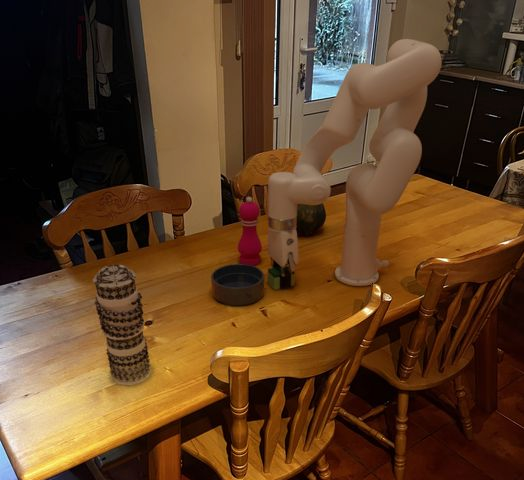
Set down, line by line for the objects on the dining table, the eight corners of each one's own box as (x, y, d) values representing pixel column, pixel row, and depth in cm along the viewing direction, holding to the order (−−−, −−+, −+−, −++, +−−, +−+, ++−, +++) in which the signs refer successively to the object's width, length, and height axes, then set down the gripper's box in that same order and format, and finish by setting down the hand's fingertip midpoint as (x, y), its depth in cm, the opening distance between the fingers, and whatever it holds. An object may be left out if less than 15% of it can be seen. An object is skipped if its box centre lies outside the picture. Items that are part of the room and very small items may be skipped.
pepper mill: (259, 267, 159) (258, 202, 147) (235, 265, 160) (233, 200, 148) (263, 257, 164) (264, 193, 153) (241, 255, 166) (239, 191, 154)
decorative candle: (138, 355, 122) (121, 255, 108) (161, 373, 116) (146, 270, 102) (102, 372, 117) (79, 269, 102) (124, 392, 111) (104, 286, 97)
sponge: (287, 278, 153) (287, 264, 150) (294, 285, 150) (294, 270, 147) (267, 283, 151) (267, 268, 148) (274, 289, 148) (274, 275, 145)
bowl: (251, 277, 153) (251, 260, 150) (272, 300, 143) (273, 281, 140) (204, 287, 149) (203, 269, 145) (223, 311, 138) (222, 292, 135)
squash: (272, 222, 173) (304, 189, 166) (276, 208, 186) (306, 176, 179) (303, 251, 177) (336, 220, 170) (305, 235, 190) (336, 205, 183)
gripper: (310, 230, 135) (307, 294, 145) (280, 209, 147) (279, 268, 158) (284, 235, 132) (282, 300, 143) (256, 213, 145) (256, 273, 155)
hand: (281, 282), depth 150 cm, fingers closed on sponge, 4 cm apart
